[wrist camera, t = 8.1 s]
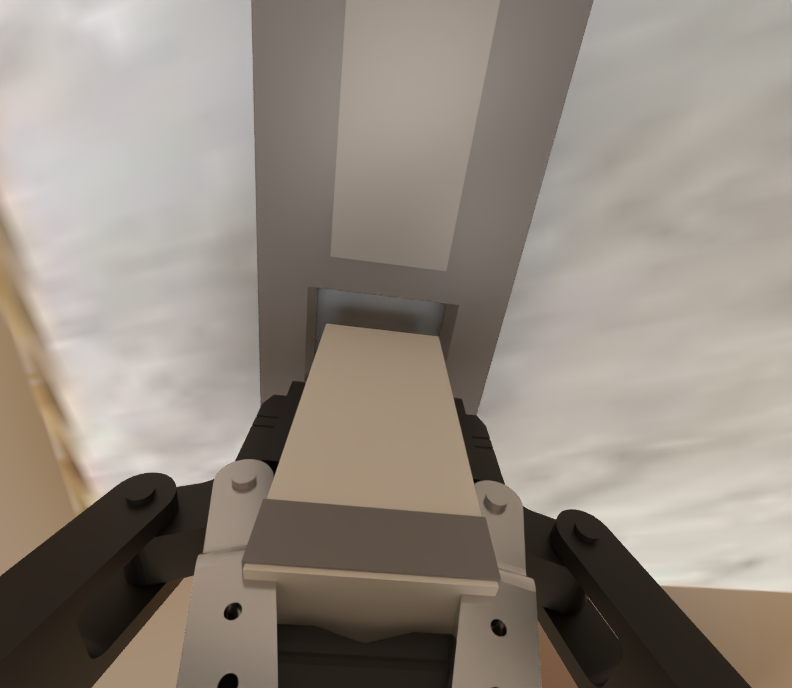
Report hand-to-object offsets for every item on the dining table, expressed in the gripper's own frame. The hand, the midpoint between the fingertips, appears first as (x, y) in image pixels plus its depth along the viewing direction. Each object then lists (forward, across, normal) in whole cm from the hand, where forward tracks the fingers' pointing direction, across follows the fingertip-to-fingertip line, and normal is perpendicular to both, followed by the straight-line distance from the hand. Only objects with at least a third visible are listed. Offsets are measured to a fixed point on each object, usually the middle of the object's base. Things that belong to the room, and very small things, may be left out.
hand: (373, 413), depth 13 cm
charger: (+2, 0, 0) cm, 2 cm away
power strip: (+6, 0, -9) cm, 10 cm away
